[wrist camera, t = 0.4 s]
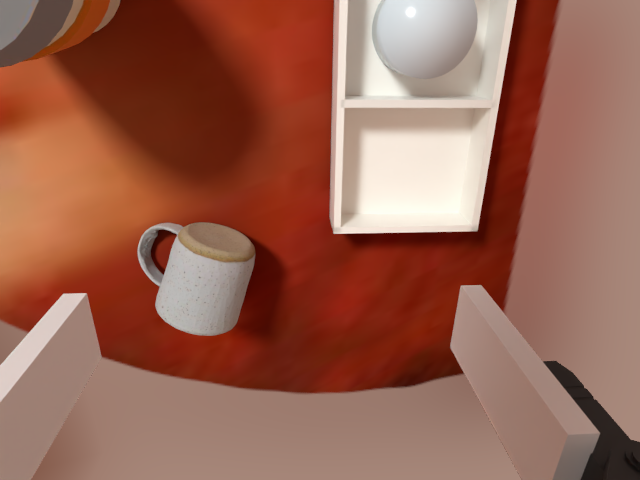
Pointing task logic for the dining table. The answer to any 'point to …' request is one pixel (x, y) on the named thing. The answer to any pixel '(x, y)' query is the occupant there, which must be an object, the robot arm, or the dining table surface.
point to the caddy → (412, 129)
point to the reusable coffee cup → (48, 26)
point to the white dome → (424, 35)
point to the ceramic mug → (200, 276)
